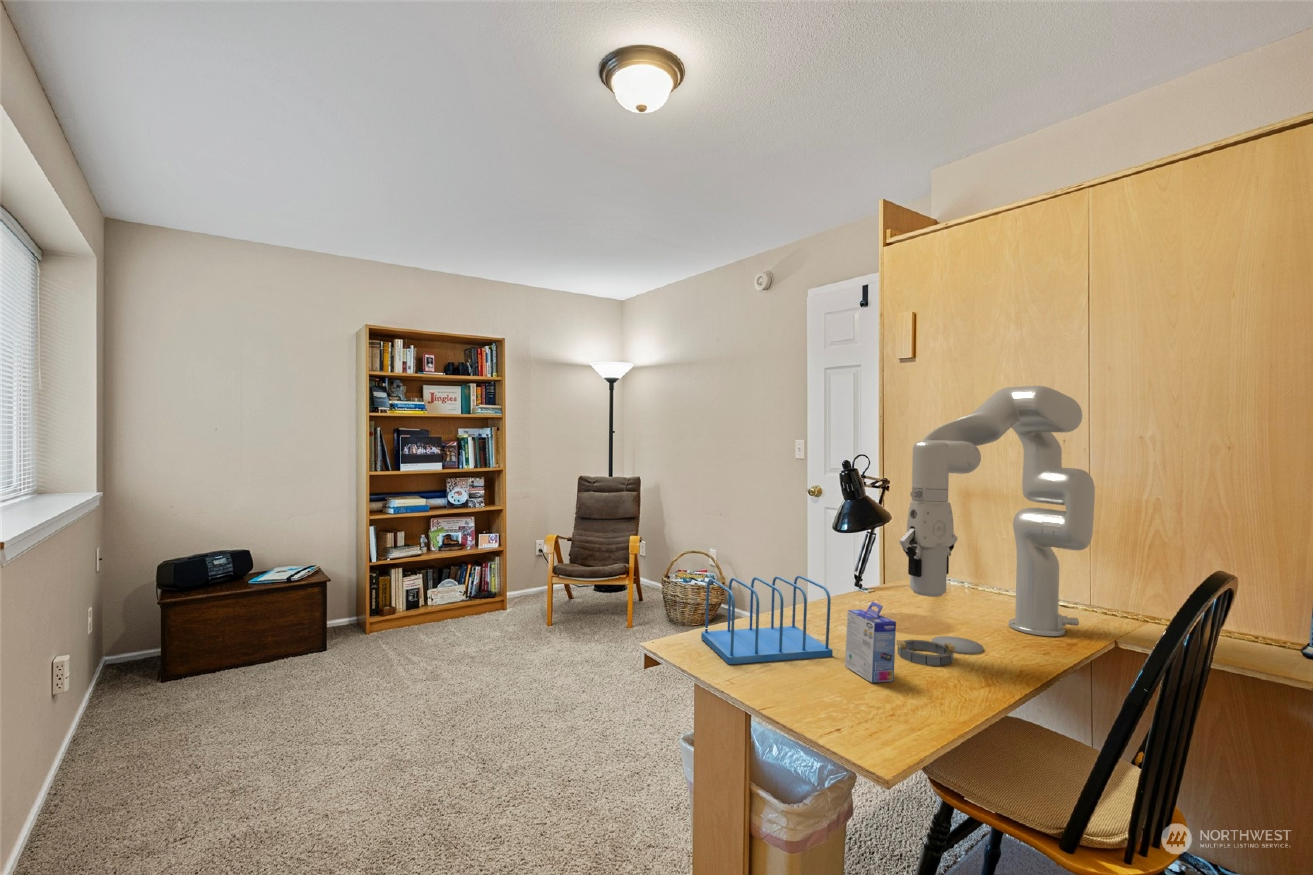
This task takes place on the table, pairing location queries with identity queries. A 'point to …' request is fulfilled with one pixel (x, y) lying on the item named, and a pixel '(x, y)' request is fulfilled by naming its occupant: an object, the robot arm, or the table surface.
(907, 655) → the collar
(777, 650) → the file sorter
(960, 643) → the coaster
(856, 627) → the ink cartridge box
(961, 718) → the table surface
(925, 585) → the can
